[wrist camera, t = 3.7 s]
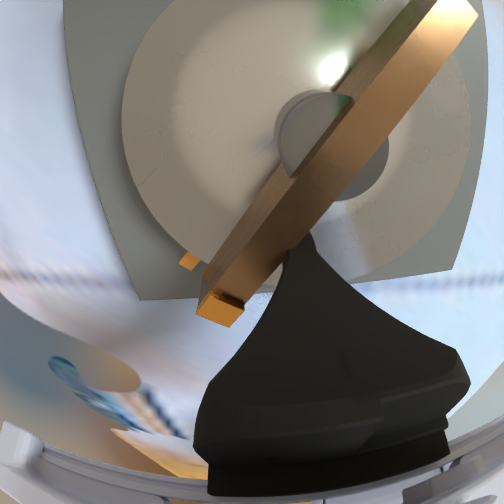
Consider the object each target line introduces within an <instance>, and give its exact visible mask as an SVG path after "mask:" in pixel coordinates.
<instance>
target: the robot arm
mask: <svg viewBox="0 0 504 504" xmlns="http://www.w3.org/2000/svg"><path fill="white" fill-rule="evenodd" d="M470 385H471V382H470V378H469V376H468V374H467V371H466V369H465V367H464V364H463V362H462V360H461V358H460V356H459V354H458V353H457V351H456V349H454V348H452V347H450V346H447V345H445V344H443V343H441V342H439V341H437V340H434V339H432V338H430V337H428V336H426V335H424V334H422V333H420V332H418V331H416V330H415V329H413V328H411V327H409V326H407V325H406V324H404V323H402V322H401V321H399V320H397V319H396V318H394V317H392V316H391V315H389V314H388V313H386V312H385V311H383V310H382V309H380V308H379V307H377V306H376V305H375V304H373V303H372V302H371V301H369V300H368V299H366V298H365V297H364V296H363V295H362V294H360V293H359V292H358V291H357V290H355V289H354V288H353V287H352V286H351V285H349V284H348V283H347V282H346V281H345V280H344V279H343V278H342V277H341V276H340V275H339V274H338V273H337V272H336V271H335V270H334V269H333V268H332V267H331V266H330V265H329V264H328V263H327V262H326V261H325V260H324V259H323V257H322V256H321V255H320V254H319V253H318V252H317V250H316V246H315V242H314V239H313V237H312V235H311V233H310V232H308V233H307V234H306V235H305V237H304V238H303V239H302V240H301V241H300V242H299V244H298V245H297V246H296V247H295V248H291V249H288V252H287V255H286V258H285V260H284V261H283V262H282V273H281V276H280V279H279V281H278V284H277V286H276V289H275V291H274V293H273V295H272V298H271V300H270V302H269V304H268V306H267V307H266V309H265V311H264V313H263V314H262V316H261V318H260V320H259V321H258V323H257V324H256V326H255V328H254V329H253V331H252V332H251V333H250V335H249V336H248V337H247V339H246V340H245V342H244V343H243V344H242V346H241V347H240V348H239V350H238V351H237V352H236V353H235V355H234V356H233V357H232V358H231V359H230V360H229V362H228V363H227V364H226V365H225V366H224V367H223V368H222V369H221V370H220V371H219V373H218V374H217V375H216V376H215V377H214V378H213V379H212V380H211V381H210V382H209V384H208V387H207V389H206V391H205V394H204V396H203V399H202V402H201V404H200V407H199V410H198V414H197V418H196V423H195V431H194V441H193V448H194V450H195V452H196V453H197V454H198V455H199V456H200V457H201V458H203V459H204V460H205V461H206V462H207V463H208V464H209V467H208V480H200V479H189V478H180V477H172V476H165V475H159V474H153V473H147V472H141V471H136V470H131V469H127V468H123V467H119V466H114V465H111V464H107V463H103V462H99V461H96V460H93V459H89V458H86V457H83V456H80V455H77V454H74V453H71V452H68V451H65V450H63V449H60V448H57V447H55V446H52V445H50V444H47V443H45V442H43V441H42V440H41V439H40V438H38V437H37V436H35V435H34V434H32V433H30V432H29V431H27V430H25V429H23V428H21V427H19V426H16V425H14V424H12V423H10V422H8V421H4V423H3V426H2V430H1V433H0V489H1V490H3V491H4V492H5V493H7V494H8V495H9V496H11V497H12V498H13V499H15V500H16V501H18V502H19V503H20V504H172V503H171V501H169V500H168V499H174V500H181V501H189V502H198V503H210V504H288V503H299V502H309V501H311V504H504V414H503V415H502V416H500V417H498V418H496V419H494V420H493V421H491V422H489V423H487V424H485V425H483V426H481V427H479V428H477V429H476V430H473V431H471V432H469V433H467V434H465V435H462V436H460V437H458V438H456V439H453V440H451V441H449V442H447V438H446V435H445V432H444V430H445V429H446V428H448V421H447V418H446V414H447V413H448V412H449V411H450V410H451V409H452V408H453V407H454V406H455V405H456V404H457V403H458V402H459V401H460V400H461V399H462V398H463V397H464V396H465V395H466V393H467V392H468V389H469V387H470ZM166 498H167V499H166Z"/></svg>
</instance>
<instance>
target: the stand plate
mask: <svg viewBox="0 0 504 504" xmlns="http://www.w3.org/2000/svg"><path fill="white" fill-rule="evenodd" d="M173 1H174V0H63V15H64V30H65V41H66V50H67V59H68V66H69V73H70V79H71V85H72V91H73V97H74V102H75V107H76V112H77V116H78V121H79V125H80V130H81V134H82V138H83V142H84V146H85V150H86V154H87V157H88V161H89V165H90V168H91V172H92V175H93V178H94V182H95V185H96V188H97V191H98V194H99V197H100V201H101V204H102V207H103V209H104V212H105V215H106V218H107V221H108V224H109V227H110V229H111V232H112V235H113V237H114V240H115V243H116V245H117V248H118V250H119V253H120V255H121V258H122V260H123V263H124V265H125V267H126V270H127V272H128V275H129V277H130V279H131V281H132V284H133V286H134V288H135V291H136V293H137V295H138V297H139V299H140V301H141V300H164V299H183V298H199V296H200V290H201V284H202V278H203V272H204V270H205V268H206V267H207V266H208V264H207V263H205V262H204V261H202V260H200V259H199V258H197V257H196V256H194V255H193V254H192V253H190V252H189V251H188V250H186V249H185V248H183V247H182V246H181V245H180V244H179V243H178V242H177V241H176V240H175V239H174V238H172V237H171V236H170V235H169V234H168V233H167V232H166V231H165V229H164V228H163V227H162V226H161V225H160V223H159V222H158V221H157V220H156V219H155V217H154V216H153V215H152V213H151V212H150V210H149V209H148V207H147V205H146V204H145V202H144V201H143V199H142V198H141V195H140V193H139V191H138V189H137V187H136V185H135V183H134V180H133V178H132V176H131V172H130V169H129V166H128V162H127V159H126V156H125V150H124V144H123V137H122V101H123V95H124V88H125V82H126V79H127V76H128V73H129V69H130V66H131V63H132V60H133V58H134V56H135V54H136V51H137V49H138V47H139V46H140V44H141V42H142V40H143V38H144V36H145V34H146V33H147V31H148V30H149V29H150V27H151V26H152V24H153V23H154V22H155V20H156V19H157V18H158V16H159V15H160V14H161V13H162V12H163V11H164V10H165V9H166V8H167V7H168V6H169V5H170V4H171V3H172V2H173ZM466 1H467V2H468V3H469V4H470V5H471V7H472V8H473V9H474V10H475V12H476V13H477V14H478V17H477V18H476V20H475V21H474V23H473V24H472V26H471V27H470V28H469V30H468V31H467V33H466V34H465V35H464V37H463V38H462V40H461V41H460V42H459V44H458V45H457V47H456V48H455V49H454V53H455V55H456V57H457V60H458V62H459V64H460V67H461V70H462V73H463V76H464V79H465V82H466V86H467V92H468V97H469V103H470V116H471V131H470V143H469V149H468V154H467V159H466V164H465V167H464V170H463V173H462V176H461V179H460V182H459V184H458V186H457V188H456V190H455V193H454V195H453V197H452V199H451V200H450V202H449V204H448V205H447V207H446V209H445V210H444V212H443V213H442V215H441V216H440V217H439V219H438V220H437V221H436V222H435V224H434V225H433V226H432V227H431V229H430V230H429V231H428V232H427V233H426V234H425V235H424V236H423V237H422V238H421V239H420V240H419V241H418V242H417V243H416V244H414V245H413V246H412V247H411V248H409V249H408V250H407V251H406V252H404V253H403V254H402V255H400V256H399V257H397V258H396V259H394V260H392V261H391V262H389V263H388V264H386V265H384V266H382V267H380V268H378V269H376V270H374V271H372V272H370V273H367V274H365V275H362V276H359V277H356V278H354V279H351V280H347V281H346V282H347V283H348V284H354V283H362V282H370V281H378V280H386V279H393V278H400V277H407V276H414V275H421V274H428V273H434V272H441V271H447V270H452V268H453V265H454V262H455V260H456V257H457V254H458V251H459V248H460V245H461V242H462V238H463V235H464V232H465V229H466V225H467V222H468V218H469V214H470V210H471V207H472V202H473V198H474V194H475V190H476V185H477V180H478V175H479V170H480V164H481V158H482V152H483V145H484V137H485V128H486V117H487V102H488V52H487V37H486V27H485V19H484V12H483V5H482V0H466ZM275 289H276V286H271V285H266V284H262V286H261V287H260V288H259V289H258V290H257V291H256V292H255V293H267V292H274V291H275ZM255 293H254V294H255Z"/></svg>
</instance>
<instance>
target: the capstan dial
mask: <svg viewBox="0 0 504 504" xmlns="http://www.w3.org/2000/svg"><path fill="white" fill-rule="evenodd" d="M477 17H478V14H477V13H476V12H475V10H474V9H473V8H472V7H471V5H470V4H469V3H468V2H467V1H466V0H174V1H173V2H172V3H171V4H170V5H169V6H168V7H167V8H166V9H165V10H164V11H163V12H162V13H161V14H160V15H159V16H158V18H157V19H156V20H155V22H154V23H153V24H152V26H151V27H150V29H149V30H148V31H147V33H146V34H145V36H144V38H143V40H142V42H141V44H140V46H139V47H138V49H137V51H136V54H135V56H134V58H133V60H132V63H131V66H130V69H129V73H128V76H127V79H126V82H125V88H124V95H123V101H122V137H123V144H124V150H125V156H126V159H127V162H128V166H129V169H130V172H131V176H132V178H133V180H134V183H135V185H136V187H137V189H138V191H139V193H140V195H141V198H142V199H143V201H144V202H145V204H146V205H147V207H148V209H149V210H150V212H151V213H152V215H153V216H154V217H155V219H156V220H157V221H158V222H159V223H160V225H161V226H162V227H163V228H164V229H165V231H166V232H167V233H168V234H169V235H170V236H171V237H172V238H174V239H175V240H176V241H177V242H178V243H179V244H180V245H181V246H182V247H183V248H185V249H186V250H188V251H189V252H190V253H192V254H193V255H194V256H196V257H197V258H199V259H200V260H202V261H204V262H205V263H207V264H208V266H207V267H206V268H205V270H204V272H203V278H202V284H201V290H200V296H199V302H198V307H197V311H196V314H197V315H199V316H201V317H204V318H206V319H209V320H211V321H213V322H216V323H218V324H221V325H223V326H226V327H228V328H229V327H230V326H231V325H232V324H233V323H234V322H235V321H236V320H237V318H238V317H239V316H240V315H241V314H242V313H243V312H244V305H245V303H246V302H247V301H248V300H249V299H250V298H251V297H252V296H253V295H254V293H255V292H256V291H257V290H258V289H259V288H260V287H261V286H262V284H266V285H271V286H277V284H278V281H279V279H280V276H281V273H282V262H283V261H284V260H285V258H286V255H287V252H288V249H291V248H295V247H296V246H297V245H298V244H299V242H300V241H301V240H302V239H303V238H304V237H305V235H306V234H307V233H308V232H310V233H311V235H312V237H313V239H314V242H315V246H316V250H317V252H318V253H319V254H320V255H321V256H322V257H323V259H324V260H325V261H326V262H327V263H328V264H329V265H330V266H331V267H332V268H333V269H334V270H335V271H336V272H337V273H338V274H339V275H340V276H341V277H342V278H343V279H344V280H345V281H347V280H351V279H354V278H356V277H359V276H362V275H365V274H367V273H370V272H372V271H374V270H376V269H378V268H380V267H382V266H384V265H386V264H388V263H389V262H391V261H392V260H394V259H396V258H397V257H399V256H400V255H402V254H403V253H404V252H406V251H407V250H408V249H409V248H411V247H412V246H413V245H414V244H416V243H417V242H418V241H419V240H420V239H421V238H422V237H423V236H424V235H425V234H426V233H427V232H428V231H429V230H430V229H431V227H432V226H433V225H434V224H435V222H436V221H437V220H438V219H439V217H440V216H441V215H442V213H443V212H444V210H445V209H446V207H447V205H448V204H449V202H450V200H451V199H452V197H453V195H454V193H455V190H456V188H457V186H458V184H459V182H460V179H461V176H462V173H463V170H464V167H465V164H466V159H467V154H468V149H469V143H470V131H471V116H470V103H469V97H468V92H467V86H466V82H465V79H464V76H463V73H462V70H461V67H460V64H459V62H458V60H457V57H456V55H455V53H454V49H455V48H456V47H457V45H458V44H459V42H460V41H461V40H462V38H463V37H464V35H465V34H466V33H467V31H468V30H469V28H470V27H471V26H472V24H473V23H474V21H475V20H476V18H477Z"/></svg>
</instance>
